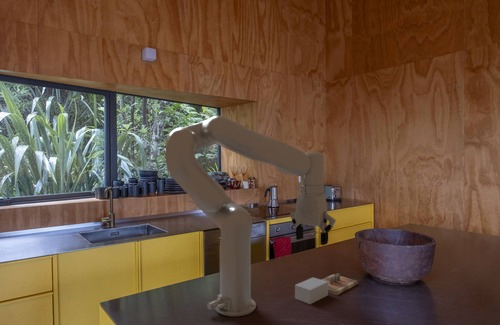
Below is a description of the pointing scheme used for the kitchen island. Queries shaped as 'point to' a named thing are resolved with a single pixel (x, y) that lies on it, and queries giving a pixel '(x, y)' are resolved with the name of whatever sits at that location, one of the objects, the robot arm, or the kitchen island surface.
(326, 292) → the block
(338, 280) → the pin block
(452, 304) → the kitchen island surface
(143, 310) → the kitchen island surface
